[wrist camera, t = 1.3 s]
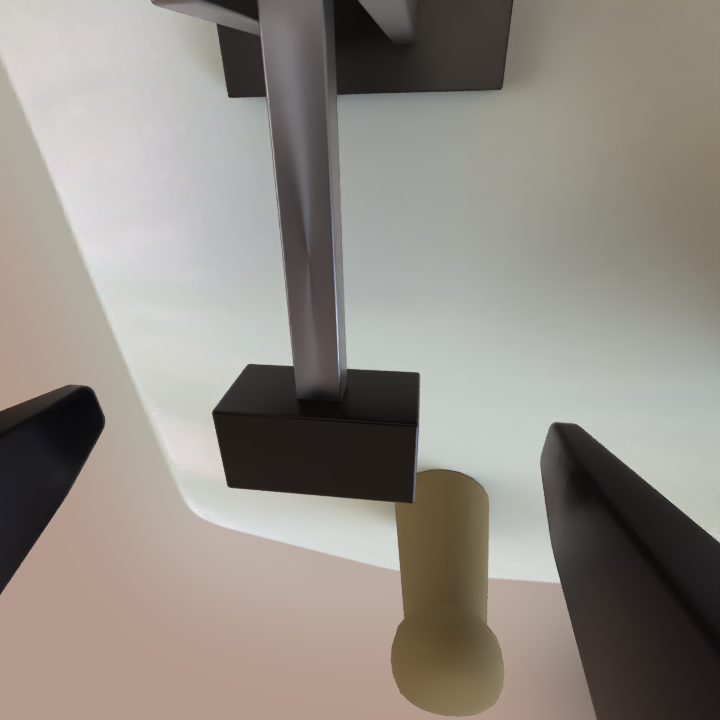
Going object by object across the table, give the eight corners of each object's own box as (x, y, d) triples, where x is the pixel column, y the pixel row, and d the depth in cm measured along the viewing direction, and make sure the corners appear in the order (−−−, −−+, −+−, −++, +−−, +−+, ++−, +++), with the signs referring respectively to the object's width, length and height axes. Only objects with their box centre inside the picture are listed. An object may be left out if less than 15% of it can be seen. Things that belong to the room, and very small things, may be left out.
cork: (467, 542, 30) (484, 744, 21) (383, 518, 30) (364, 711, 21) (505, 485, 27) (546, 696, 18) (411, 458, 27) (403, 657, 17)
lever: (416, 442, 14) (414, 504, 12) (258, 431, 14) (226, 488, 12) (449, -166, 8) (460, -293, 5) (169, -138, 8) (70, -241, 6)
